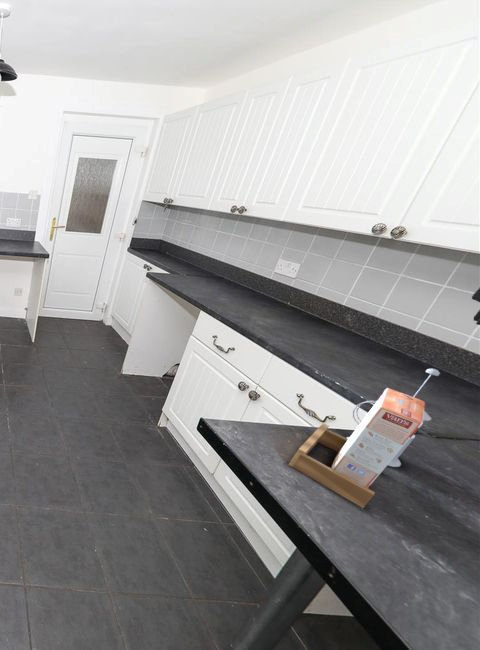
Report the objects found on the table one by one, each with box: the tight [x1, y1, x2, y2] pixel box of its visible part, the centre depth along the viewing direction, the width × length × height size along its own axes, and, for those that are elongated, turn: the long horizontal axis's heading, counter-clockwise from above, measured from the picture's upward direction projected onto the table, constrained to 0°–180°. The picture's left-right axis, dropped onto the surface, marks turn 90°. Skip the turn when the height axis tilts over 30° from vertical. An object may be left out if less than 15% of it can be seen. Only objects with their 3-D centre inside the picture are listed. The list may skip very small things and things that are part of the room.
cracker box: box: [330, 387, 426, 489], centre depth 72 cm, size 14×6×21 cm, turn 125°
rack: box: [288, 422, 387, 509], centre depth 77 cm, size 19×12×5 cm, turn 122°
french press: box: [346, 367, 441, 468], centre depth 81 cm, size 10×12×25 cm
